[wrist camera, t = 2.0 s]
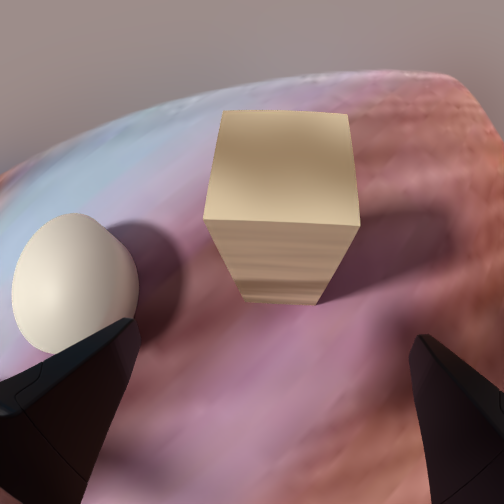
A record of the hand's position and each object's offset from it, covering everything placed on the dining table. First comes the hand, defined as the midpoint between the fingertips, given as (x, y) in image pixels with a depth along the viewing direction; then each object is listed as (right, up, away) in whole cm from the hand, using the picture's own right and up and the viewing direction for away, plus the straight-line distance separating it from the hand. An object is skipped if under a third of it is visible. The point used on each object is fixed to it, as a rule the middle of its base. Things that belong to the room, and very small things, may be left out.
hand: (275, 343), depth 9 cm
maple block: (+1, +1, +14) cm, 14 cm away
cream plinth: (-15, -1, +14) cm, 21 cm away
